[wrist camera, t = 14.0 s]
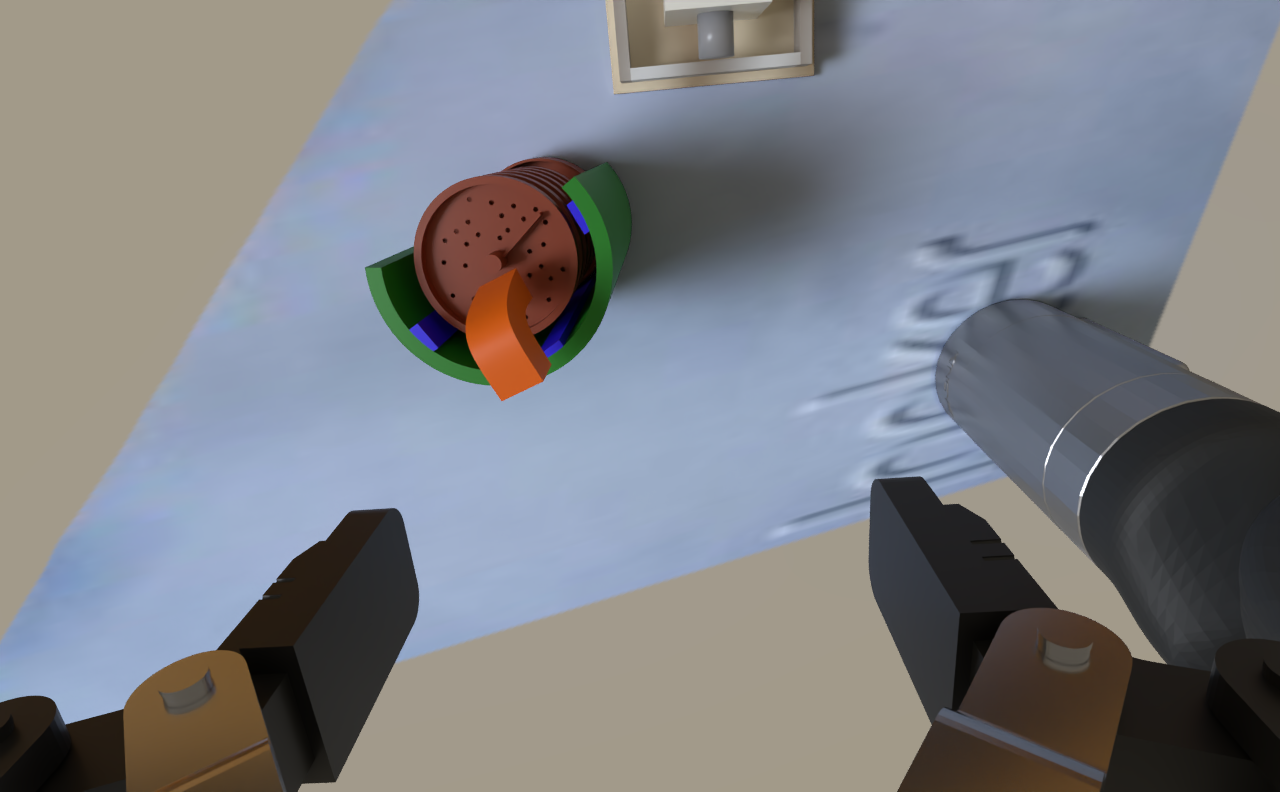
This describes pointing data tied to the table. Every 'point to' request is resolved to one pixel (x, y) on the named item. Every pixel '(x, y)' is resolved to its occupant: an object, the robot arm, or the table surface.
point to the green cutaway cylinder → (508, 272)
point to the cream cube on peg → (713, 21)
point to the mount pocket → (672, 54)
